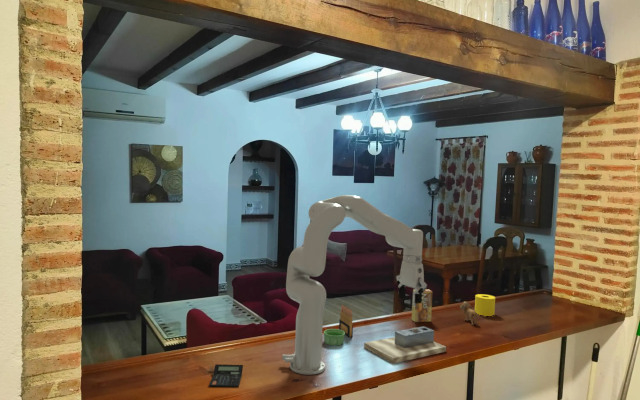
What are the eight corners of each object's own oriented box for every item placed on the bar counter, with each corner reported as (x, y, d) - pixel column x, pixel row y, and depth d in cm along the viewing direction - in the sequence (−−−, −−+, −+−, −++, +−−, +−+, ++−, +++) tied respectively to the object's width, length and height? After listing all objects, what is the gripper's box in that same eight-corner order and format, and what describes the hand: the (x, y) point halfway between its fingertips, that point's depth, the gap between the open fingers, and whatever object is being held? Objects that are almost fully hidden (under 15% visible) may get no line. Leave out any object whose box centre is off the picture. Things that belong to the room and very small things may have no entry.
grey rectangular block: (404, 348, 179) (405, 335, 179) (394, 343, 184) (395, 331, 184) (433, 342, 187) (434, 330, 187) (423, 337, 192) (423, 326, 192)
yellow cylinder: (470, 311, 245) (471, 294, 245) (486, 311, 248) (487, 294, 247) (481, 316, 236) (482, 299, 235) (498, 316, 238) (499, 298, 238)
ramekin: (333, 337, 195) (333, 327, 195) (349, 343, 188) (349, 332, 188) (318, 341, 188) (319, 331, 188) (334, 348, 182) (334, 337, 182)
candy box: (427, 319, 227) (428, 289, 227) (431, 321, 223) (432, 291, 223) (411, 319, 226) (412, 289, 225) (414, 322, 221) (416, 291, 221)
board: (392, 363, 168) (393, 342, 168) (364, 347, 184) (364, 328, 183) (446, 351, 183) (446, 332, 182) (415, 337, 198) (415, 319, 198)
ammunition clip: (352, 337, 196) (353, 310, 195) (348, 337, 195) (350, 310, 194) (342, 329, 205) (343, 303, 205) (338, 330, 205) (339, 303, 204)
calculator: (208, 387, 143) (209, 378, 143) (215, 372, 155) (215, 363, 155) (238, 388, 144) (238, 379, 144) (242, 373, 155) (243, 364, 155)
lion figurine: (457, 317, 232) (458, 300, 232) (467, 317, 233) (468, 300, 233) (473, 326, 218) (474, 308, 217) (483, 326, 219) (484, 308, 219)
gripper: (434, 262, 180) (431, 304, 180) (405, 255, 195) (402, 294, 195) (420, 263, 176) (417, 306, 176) (391, 256, 191) (389, 296, 191)
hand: (409, 300), depth 186 cm, fingers open, 9 cm apart
